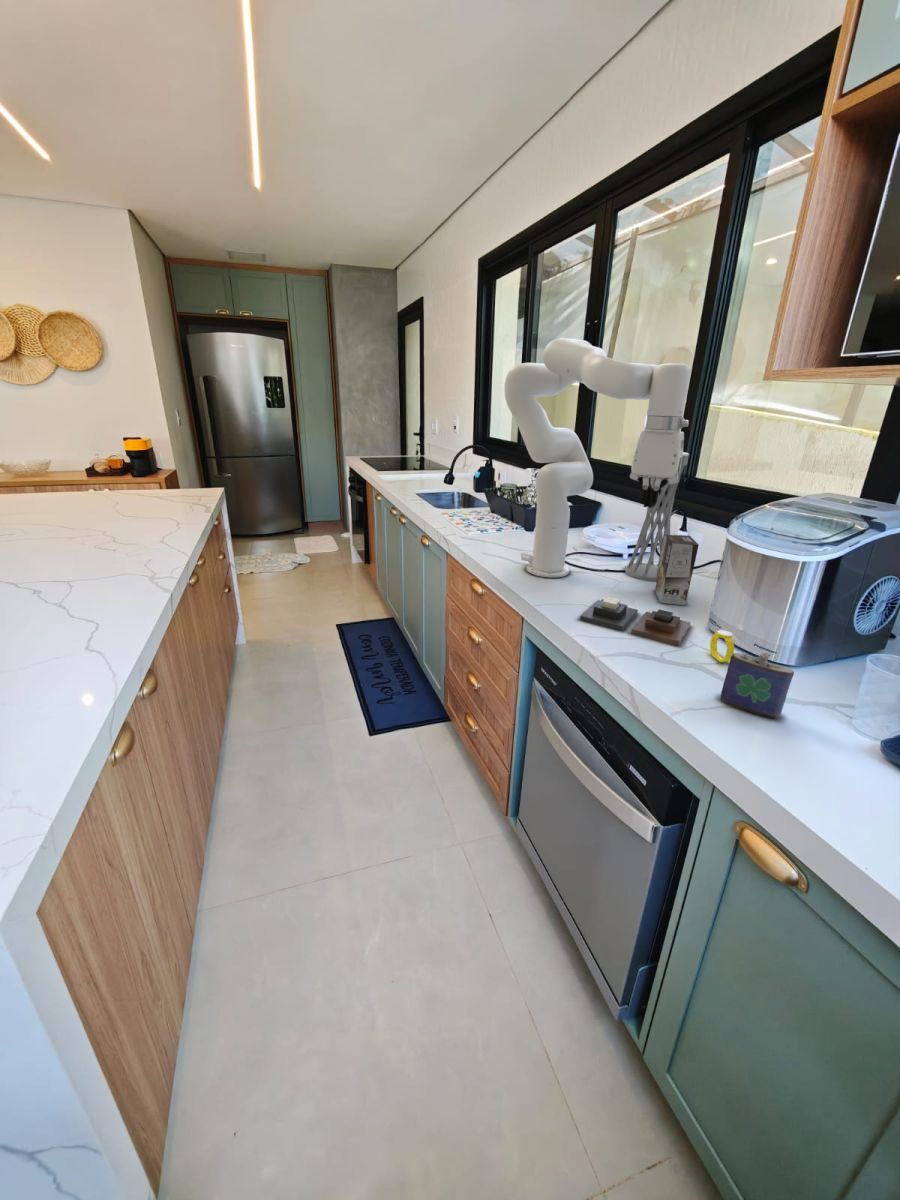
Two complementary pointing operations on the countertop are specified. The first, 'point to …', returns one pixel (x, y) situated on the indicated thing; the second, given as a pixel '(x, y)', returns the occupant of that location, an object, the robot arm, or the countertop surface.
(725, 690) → the flask
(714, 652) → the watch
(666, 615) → the dark key
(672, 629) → the walnut key block
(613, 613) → the black key block
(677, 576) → the coffee box
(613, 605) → the ivory key
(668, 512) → the grey lattice tower
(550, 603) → the countertop surface
